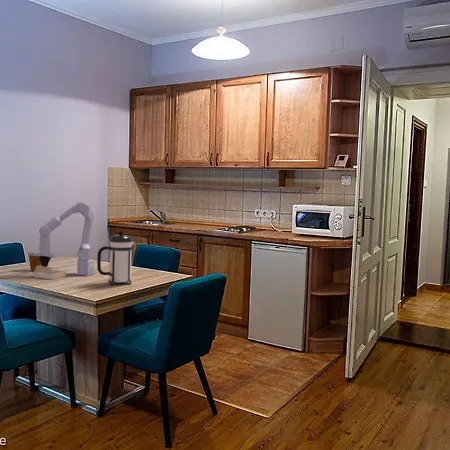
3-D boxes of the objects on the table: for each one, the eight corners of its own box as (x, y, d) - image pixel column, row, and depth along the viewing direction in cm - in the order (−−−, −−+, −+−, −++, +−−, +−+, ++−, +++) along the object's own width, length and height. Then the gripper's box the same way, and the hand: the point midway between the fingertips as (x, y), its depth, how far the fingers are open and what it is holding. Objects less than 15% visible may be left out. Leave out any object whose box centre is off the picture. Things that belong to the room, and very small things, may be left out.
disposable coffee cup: (38, 272, 298) (38, 253, 297) (24, 271, 300) (24, 252, 299) (47, 269, 307) (47, 251, 306) (33, 268, 309) (33, 250, 308)
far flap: (48, 263, 292) (48, 263, 292) (36, 266, 282) (36, 266, 282) (46, 268, 293) (46, 268, 293) (34, 271, 283) (34, 271, 283)
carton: (66, 276, 289) (66, 271, 289) (53, 279, 278) (53, 274, 278) (47, 274, 294) (47, 269, 294) (32, 277, 282) (32, 272, 282)
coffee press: (117, 279, 286) (118, 228, 284) (138, 282, 278) (139, 230, 276) (96, 283, 271) (97, 230, 269) (117, 287, 263) (118, 232, 261)
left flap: (52, 267, 280) (51, 267, 280) (50, 273, 279) (50, 273, 279) (37, 265, 283) (37, 265, 283) (36, 271, 282) (36, 271, 282)
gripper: (30, 245, 284) (29, 268, 285) (50, 247, 279) (50, 271, 281) (38, 244, 291) (38, 267, 292) (58, 246, 286) (58, 269, 287)
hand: (44, 269), depth 287 cm, fingers closed
